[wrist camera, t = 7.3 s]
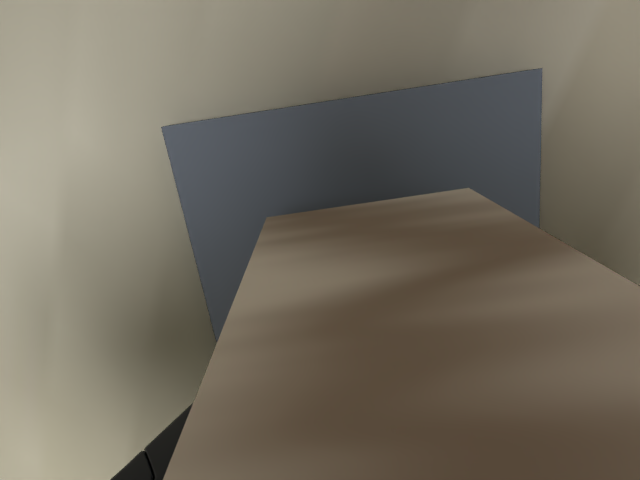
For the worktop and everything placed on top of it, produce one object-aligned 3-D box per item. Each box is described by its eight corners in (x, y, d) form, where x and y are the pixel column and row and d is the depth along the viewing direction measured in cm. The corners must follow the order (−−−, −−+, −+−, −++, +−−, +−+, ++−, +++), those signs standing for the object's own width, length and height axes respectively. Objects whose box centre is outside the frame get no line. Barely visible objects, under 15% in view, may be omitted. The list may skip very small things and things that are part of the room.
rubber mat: (531, 69, 11) (542, 68, 11) (527, 379, 15) (536, 390, 14) (168, 125, 12) (161, 126, 11) (241, 416, 15) (238, 429, 14)
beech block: (469, 187, 10) (1207, 611, 2) (475, 361, 12) (883, 1027, 3) (266, 217, 10) (62, 735, 2) (299, 385, 12) (264, 1075, 4)
